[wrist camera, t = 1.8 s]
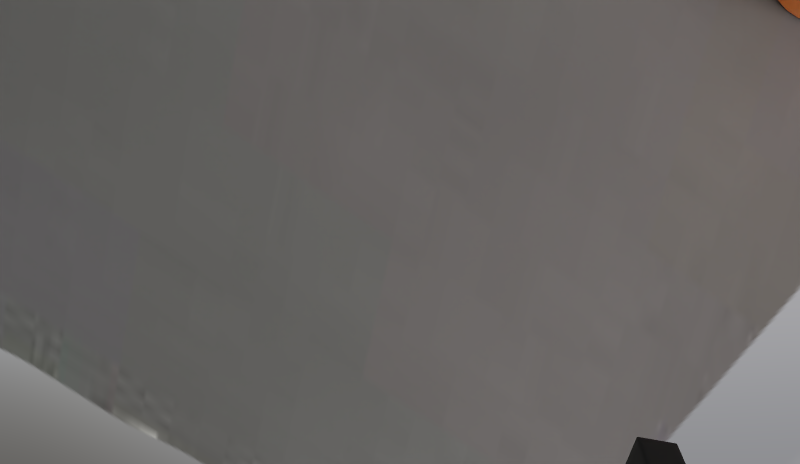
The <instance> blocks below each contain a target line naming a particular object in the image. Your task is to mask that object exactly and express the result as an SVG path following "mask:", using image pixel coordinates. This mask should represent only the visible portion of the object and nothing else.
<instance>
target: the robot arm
mask: <svg viewBox="0 0 800 464" xmlns="http://www.w3.org/2000/svg"><path fill="white" fill-rule="evenodd" d="M626 464H685V462H684V459H683V457H682V455H681V452H680V450H679V448H678V445H677V444H675V443H670V442H664V441H658V440H653V439H647V438H641V437H637V438H636V441H635V443H634V445H633V448H632V450H631V452H630V455H629V457H628V460H627V462H626Z"/></svg>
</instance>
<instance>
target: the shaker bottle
mask: <svg viewBox="0 0 800 464" xmlns="http://www.w3.org/2000/svg"><path fill="white" fill-rule="evenodd" d="M778 1H779V2H780V3H781V4H782V6H783V7H784V8H785V9H786V10H788V11H789V12H790V13H792V14H793V15H795V16H796V17H797V18H800V0H778Z"/></svg>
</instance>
